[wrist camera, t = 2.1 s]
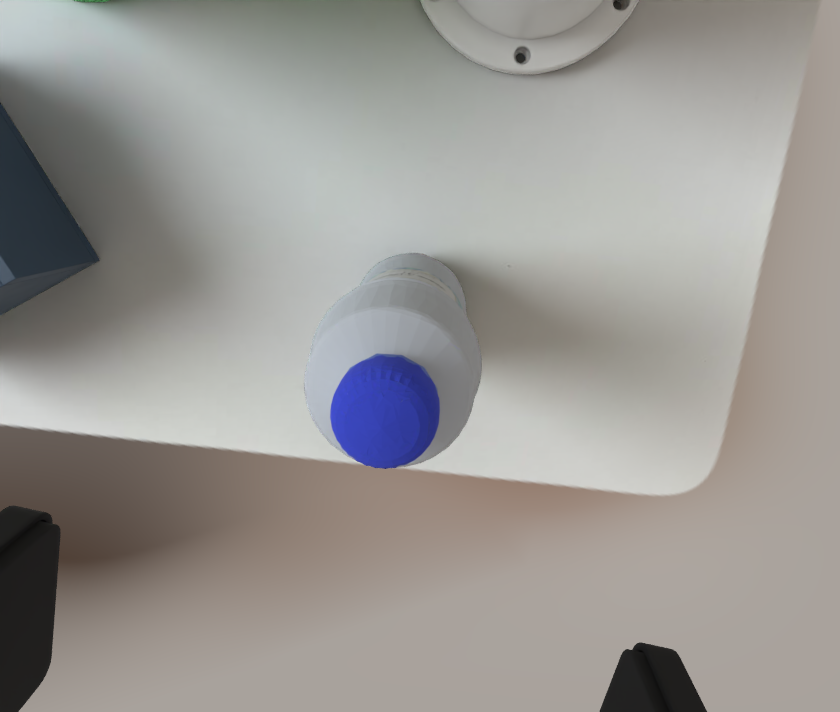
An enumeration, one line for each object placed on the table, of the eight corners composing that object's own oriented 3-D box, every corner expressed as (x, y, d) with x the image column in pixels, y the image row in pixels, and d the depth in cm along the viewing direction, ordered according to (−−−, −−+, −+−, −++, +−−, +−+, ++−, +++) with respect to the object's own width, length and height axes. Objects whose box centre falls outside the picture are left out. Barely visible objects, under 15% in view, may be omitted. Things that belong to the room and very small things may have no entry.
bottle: (477, 256, 36) (516, 337, 17) (457, 363, 38) (471, 547, 19) (365, 236, 36) (276, 295, 17) (350, 345, 38) (253, 511, 19)
